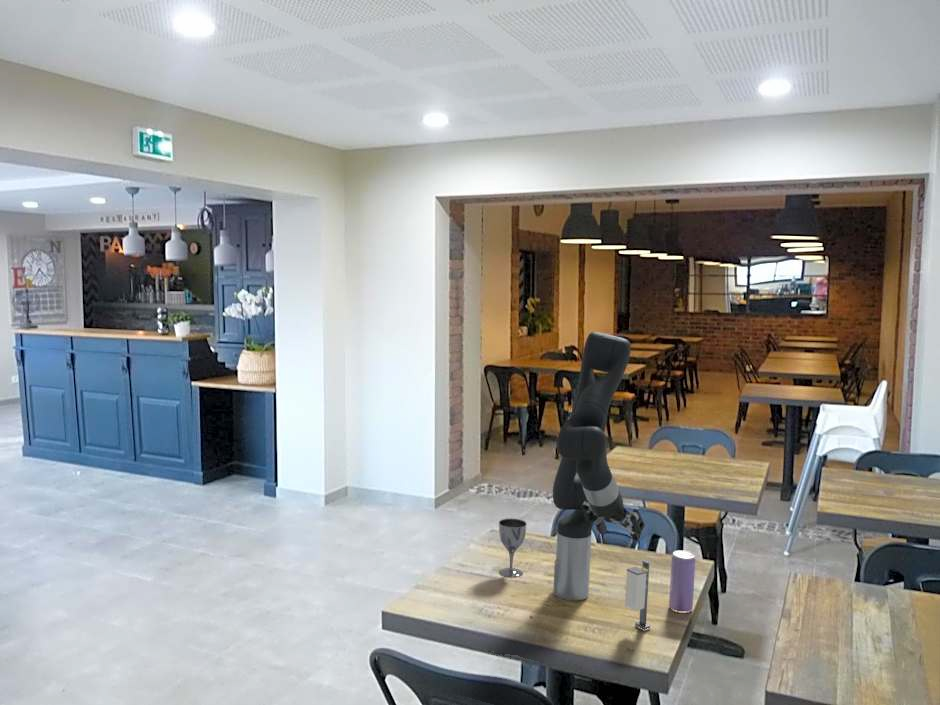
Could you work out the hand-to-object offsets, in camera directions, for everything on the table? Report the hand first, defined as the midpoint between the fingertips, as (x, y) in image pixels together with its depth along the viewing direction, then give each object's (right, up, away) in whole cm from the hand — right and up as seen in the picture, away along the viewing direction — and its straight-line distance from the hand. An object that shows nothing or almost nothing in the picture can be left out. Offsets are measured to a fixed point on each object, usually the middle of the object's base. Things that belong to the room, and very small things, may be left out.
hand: (620, 535), depth 180 cm
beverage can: (+20, -24, +19) cm, 36 cm away
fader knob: (+5, -19, +5) cm, 20 cm away
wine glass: (-24, -21, +40) cm, 51 cm away
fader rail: (+7, -25, +7) cm, 27 cm away
